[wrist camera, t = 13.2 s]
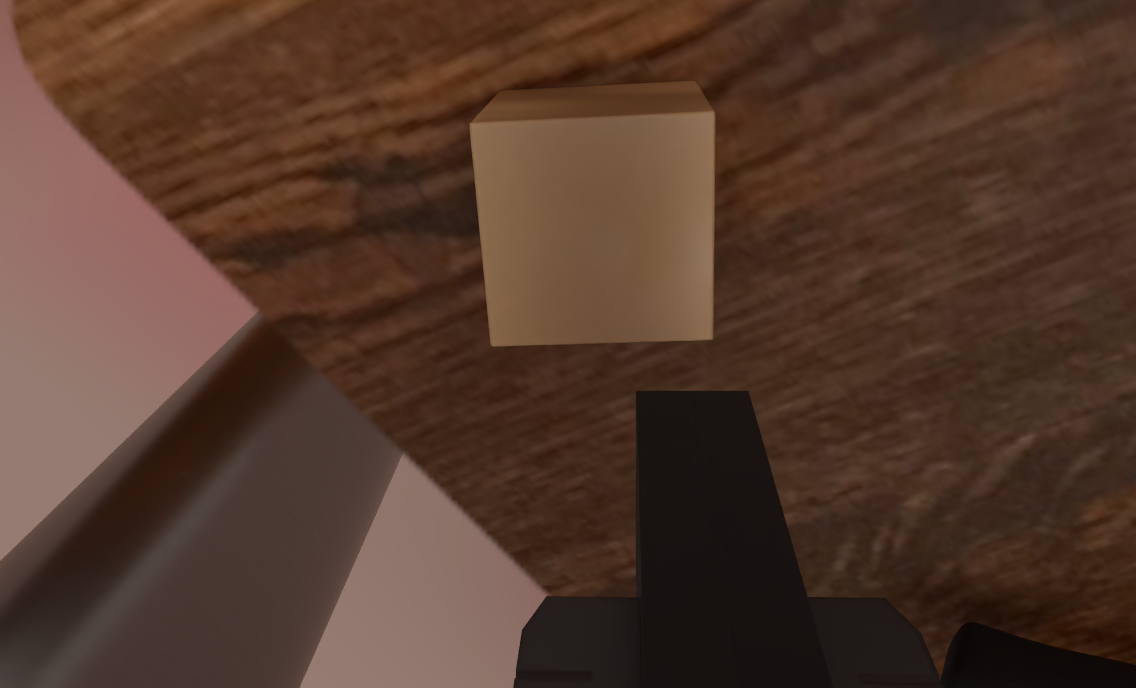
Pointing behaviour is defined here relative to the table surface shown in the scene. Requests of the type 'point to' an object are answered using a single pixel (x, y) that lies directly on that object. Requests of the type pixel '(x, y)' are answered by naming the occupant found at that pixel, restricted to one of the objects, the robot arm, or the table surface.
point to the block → (597, 213)
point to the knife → (1025, 664)
